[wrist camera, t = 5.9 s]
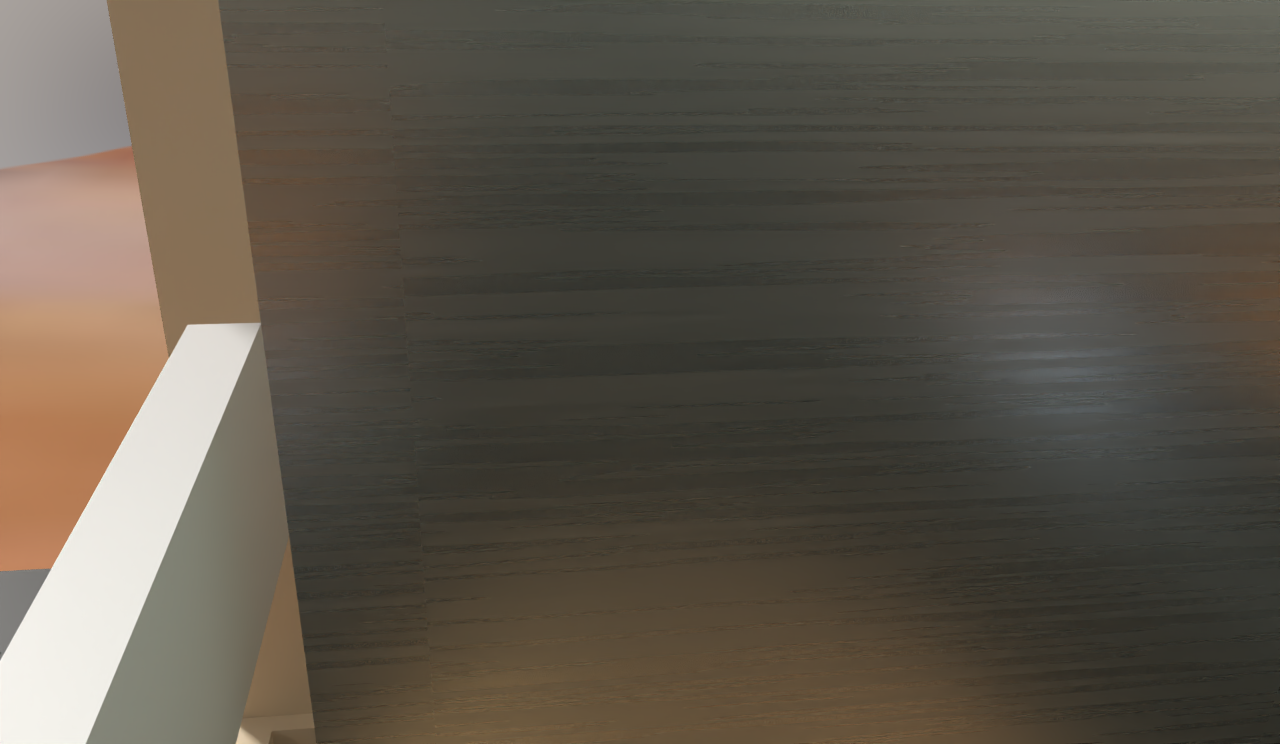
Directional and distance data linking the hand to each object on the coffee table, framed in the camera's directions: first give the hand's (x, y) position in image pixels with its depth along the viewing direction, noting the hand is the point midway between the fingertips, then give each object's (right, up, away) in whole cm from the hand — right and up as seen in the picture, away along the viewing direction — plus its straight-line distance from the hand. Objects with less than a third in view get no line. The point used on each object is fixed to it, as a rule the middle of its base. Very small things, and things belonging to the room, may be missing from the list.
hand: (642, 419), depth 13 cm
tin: (0, -10, 0) cm, 11 cm away
